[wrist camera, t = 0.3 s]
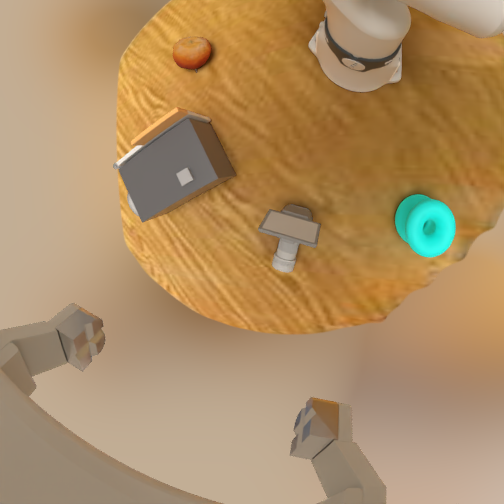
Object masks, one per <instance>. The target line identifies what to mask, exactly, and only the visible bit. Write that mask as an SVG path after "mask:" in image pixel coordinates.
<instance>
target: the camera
mask: <svg viewBox="0 0 504 504" xmlns="http://www.w3.org/2000/svg"><path fill="white" fill-rule="evenodd" d="M312 220H313V217H312V213H311V212H310V210H309V209H308V208H304V207H300V206H297V205H293V204H291V205H287V206H285V207H284V208H283V210H282V211H281V212H278V211H275V210H271V209H269V211H268V213H267V214H266V216H265V218H264V219H263V221H262V223H261V225H260V226H259V228H258V230H259V232H262V233H266V234H269V235H273V236H276V237H278V238H280V241H279V245H278V249H277V252H275V254H274V258H273V262H272V266H273V267H274V268H275V269H277V270H279V271H283V272H292V271H293V269H294V265H295V262H296V253H297V250H298V246H299V244H303V245H307V246H310V247H313V248H315V247H316V246H317V242H318V237H319V231H320V225H321V224H320V223H317V222H313V221H312Z"/></svg>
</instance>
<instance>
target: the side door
mask: <svg viewBox="0 0 504 504" xmlns="http://www.w3.org/2000/svg"><path fill="white" fill-rule="evenodd" d="M188 118H190V119H194V120H198V121H201V122H205V123H208V122H210V121H211V120H210V118H209V117H206V116H203V115H200V114H197V113H194V112H191V111H188V110H185V109H181V108H178V107H176V108H175V109H173V110H172V111H170V112H169V113H167V114H166V115H165V116H163V117H162V118H160V119H159V120H158V121H156V122H155V123H154V124H152V125H151V126H150V127H148V128H147V129H146V130H144V131H143V132H142V133H141V134H139V135H138V136H137V137H136V138H134V139H133V140H132V141H131V144H132V145H137V146H136V147H135V148H134V149H132V150H131V151H130V152H129V153H127V154H126V155H125V156H124V157H123V158H121V159H120V160H119V161H118V162H117V163H114V165H113V167H114V169H118V168H121V167H122V166H123V165H125V164H126V163H127V162H128V161H130V160H131V159H132V158H133V157H135V156H136V155H137V154H138V153H140V152H141V151H142V150H144V149H145V148H146V147H148V146H149V145H150V144H152V143H153V142H154V141H156V140H157V139H159V138H160V137H161V136H163V135H164V134H166V133H167V132H169V131H170V130H171V129H173V128H174V127H176V126H177V125H179V124H180V123H182V122H183V121H185V120H186V119H188Z"/></svg>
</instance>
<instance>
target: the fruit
mask: <svg viewBox="0 0 504 504" xmlns="http://www.w3.org/2000/svg"><path fill="white" fill-rule="evenodd" d="M210 53H211V45H210V43H209V42H208V40H207V39H206V38H202V37H188V38H183V39H181V40H179V41H178V43H176V44H175V45H174V47H173V58H174V60H175V62H176V64H177V65H178V66H179V67H181V68H186V69H193V70H196V73H197V68H200V67H201V66H202V65H204V64H205V63H206V62H207V60H208V58H209V56H210Z"/></svg>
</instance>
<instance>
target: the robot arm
mask: <svg viewBox="0 0 504 504" xmlns="http://www.w3.org/2000/svg"><path fill="white" fill-rule="evenodd" d="M322 1H323V2H324V3H325V6H326V12H325V14H324V17H325V18H326V19H325V20H324V22H323V21H321V23H320V25H319V29H318V30H317V32H316V33H315V35H314V36H313V37H312V39H311V40H310V42H309V45H308V47H309V49H310V50H311V52H312V53H313V54H314V55H315V56H316V57H317V58H318V60H319V63H320V66H321V68H322V70H323V71H324V73H325V74H326V75H327V77H328V78H329V79H330V80H331V81H333V82H334V83H335V84H337V85H339V86H340V87H342V88H345V89H347V90H351V91H355V92H369V91H373V90H376V89H378V88H380V87H381V86H383V85H385V84H387V83H396V82H399V81H400V79H401V71H402V40H403V38H404V37H405V35H406V34H407V32H408V31H409V29H410V26H411V15H410V11H409V8H408V6H410V7H412V8H415V9H417V10H419V11H421V12H423V13H425V14H427V15H429V16H430V17H432V18H434V19H436V20H438V21H440V22H443V23H445V24H448V25H450V26H453V27H455V28H457V29H459V30H462V31H464V32H466V33H469V34H471V35H473V36H475V37H477V38H489V37H493V36H496V35H498V34H500V33H501V32H503V31H504V0H322ZM407 5H408V6H407ZM315 41H316V42H315ZM396 71H397V72H396ZM102 327H103V321H102V319H100V318H98V317H97V316H95V315H93V314H92V313H90V312H88V311H87V310H85V309H83V308H82V307H80V306H78V305H77V304H75V303H72V304H69V305H68V306H67V307H66V308H64V309H63V310H62V311H61V312H59V313H58V314H57V315H56V316H55V317H53V318H52V319H51V320H50V321H48V322H45V321H43V322H38V323H33V324H29V325H24V326H18V327H13V328H8V329H3V330H0V504H223V503H219V502H216V501H212V500H209V499H206V498H202V497H199V496H197V495H194V494H191V493H187V492H185V491H182V490H180V489H177V488H175V487H172V486H170V485H167V484H165V483H162V482H160V481H158V480H155V479H153V478H151V477H149V476H147V475H145V474H143V473H140V472H138V471H136V470H134V469H132V468H130V467H129V466H127V465H125V464H123V463H121V462H119V461H117V460H116V459H114V458H112V457H110V456H108V455H107V454H105V453H104V452H102V451H100V450H99V449H97V448H95V447H94V446H92V445H91V444H89V443H88V442H86V441H85V440H83V439H82V438H80V437H79V436H77V435H76V434H74V433H73V432H72V431H70V430H69V429H68V428H66V427H65V426H63V425H62V424H61V423H60V422H58V421H57V420H56V419H54V418H53V417H52V416H51V415H49V414H48V413H47V412H45V411H44V410H43V409H42V408H41V407H40V406H38V405H37V404H36V403H35V402H34V401H33V400H32V399H31V398H30V397H29V396H30V395H31V394H32V392H33V391H34V390H35V389H36V384H35V382H34V380H33V378H32V376H35V375H37V374H40V373H42V372H45V371H48V370H51V369H53V368H56V367H58V366H61V365H63V364H66V363H67V362H68V363H70V364H72V365H73V366H75V367H76V368H78V369H79V370H81V371H83V370H84V369H85V368H86V367H87V366H88V365H89V364H90V363H91V362H92V356H95V355H98V354H99V353H100V352H101V350H102V349H103V347H104V344H105V334H104V332H103V331H102V329H101V328H102ZM294 432H295V434H296V437H295V438H294V439H293V440H292V444H291V451H290V456H295V457H300V458H305V459H310V460H311V462H312V464H313V466H314V468H315V471H316V473H317V475H318V478H319V480H320V482H321V484H322V487H323V489H324V491H325V493H326V495H327V497H328V498H327V499H325V500H323V501H321V502H319V503H317V504H386V486H385V485H384V483H383V482H382V480H381V479H380V478H379V476H378V475H377V473H376V471H375V470H374V469H373V467H372V466H371V464H370V463H369V461H368V460H367V458H366V457H365V455H364V454H363V452H362V451H361V449H360V448H359V446H358V445H357V443H355V442H352V408H351V406H350V405H348V404H342V403H337V402H333V401H328V400H323V399H318V398H312V397H311V398H309V400H308V401H307V402H306V408H303V409H302V410H301V411H300V412H299V414H298V416H297V419H296V422H295V426H294Z"/></svg>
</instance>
